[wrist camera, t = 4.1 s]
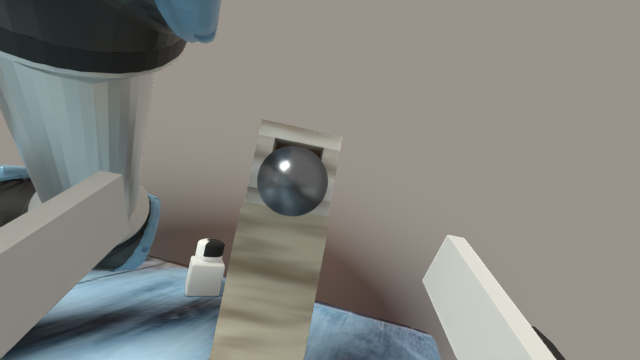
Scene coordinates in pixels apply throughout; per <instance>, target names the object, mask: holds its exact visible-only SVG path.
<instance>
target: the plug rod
mask: <svg viewBox="0 0 640 360" xmlns="http://www.w3.org/2000/svg"><path fill="white" fill-rule="evenodd" d="M257 187H258V191H259V194H260V196H261V198H262V200H263V202H264V203H265V204H266V205H267V206H268V207H269V208H270V209H271V210H273V211H274V212H276V213H278V214H281V215H284V216H301V215H304V214H307V213H309V212H311V211H312V210H314V209H315V208H316V207H317V206H318V205H319V204H320V203H321V202H322V200H323V198H324V197H325V194H326V192H327V187H328V175H327V171H326V168H325V166H324V164H323V162H322V161H321V160H320V158H319V157H318V156H317V155H316V154H314V153H313V152H312V151H310V150H308V149H306V148H303V147H299V146H286V147H282V148H279V149H277V150H275V151H273V152H272V153H271V154H269V155H268V156H267V157H266V158H265V160H264V161H263V163H262V164H261V166H260V169H259V171H258V176H257Z"/></svg>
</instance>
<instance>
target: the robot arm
mask: <svg viewBox="0 0 640 360" xmlns="http://www.w3.org/2000/svg"><path fill="white" fill-rule="evenodd" d="M220 5H221V0H0V111H1V113H2V116H3V118H4V120H5V122H6V125H7V127H8V129H9V131H10V133H11V136H12V138H13V140H14V143H15V145H16V147H17V149H18V151H19V154H20V156H21V158H22V160H23V163H24V165H25V167H24V166H13V165H0V359H1V358H2V357H3V356H4V355H5V354H6V353H7V352H8V351H9V350H10V349H11V348H12V347H13V346H14V345H15V344H16V343H17V342H18V341H19V340H20V339H21V338H22V337H23V336H24V335H25V334H26V333H27V332H28V331H29V330H30V329H31V328H33V327H34V326H35V325H36V324H37V323H38V322H39V321H40V320H41V319H42V318H43V317H44V316H45V315H46V314H47V313H48V312H49V311H50V310H51V309H52V308H53V307H54V306H55V305H56V304H57V303H58V302H59V301H60V300H61V299H62V298H63V297H64V296H65V295H66V294H67V293H68V292H69V291H70V290H71V289H72V288H73V287H74V286H75V285H76V284H77V283H78V282H79V281H80V280H81V279H83V278H84V277H85V276H86V275H87V274H88V273H89V272H90V271H91V270H99V271H111V272H117V271H121V270H133V269H136V268H138V267H139V266H140V265H141V264H142V263H143V262H144V261H145V259H146V257H147V255H148V253H149V250H150V245H151V244H152V242H153V239H154V236H155V233H156V229H157V225H158V221H159V216H160V208H161V205H160V200H159V199H158V197H156V196H153V195H150V194H149V193H147V192H146V191H145V189H144V188H143V186H142V185H141V184H140V177H141V169H142V162H143V154H144V147H145V140H146V132H147V124H148V117H149V109H150V103H151V95H152V88H153V80H154V73H155V72H157V71H160V70H162V69H164V68H166V67H168V66H170V65H172V64H173V63H174V62H175V61H177V60H178V59H179V57H180V56H181V55H182V53H183V51H184V49H185V46H186V42H191V43H193V42H197V41H198V42H201V43H210V42H212V41H213V40H214V39H215V36H216V31H217V25H218V18H219V11H220ZM423 283H424V286H425V288H426V290H427V292H428V295H429V297H430V299H431V301H432V304H433V306H434V308H435V311H436V313H437V315H438V317H439V320H440V322H441V324H442V326H443V329H444V331H445V333H446V335H447V338H448V340H449V342H450V344H451V347H452V349H453V351H454V354H455V356H456V358H457V360H565V359H564V357H563V356H562V355H561V353H560V352H559V351H558V350H557V348H556V347H555V346H554V345H553V343H552V342H551V341H549V340H548V339H547V338H546V337H545V336H544V335H543V334H542V333H541V332H540V331H538V329H536V328H535V327H533V326H530V324H529V323H528V322H527V320H526V319H525V318H524V316H523V315H522V314H521V312H520V311H519V310H518V308H517V307H516V306H515V304H514V303H513V302H512V300H511V299H510V298H509V297H508V295H507V294H506V293H505V291H504V290H503V289H502V287H501V286H500V285H499V283H498V282H497V281H496V279H495V278H494V277H493V275H492V274H491V273H490V272H489V270H488V269H487V268H486V266H485V265H484V264H483V262H482V261H481V260H480V258H479V257H478V256H477V255H476V253H475V252H474V250H473V249H472V248H471V246H470V245H469V244H468V243H467V241H466V240H465V238H462V237H456V236H451V235H447V236H446V238H445V240H444V242H443V244H442V246H441V248H440V249H439V251H438V253H437V255H436V257H435V258H434V260H433V262H432V264H431V266H430V267H429V269H428V271H427V273H426V275H425V277H424V278H423Z"/></svg>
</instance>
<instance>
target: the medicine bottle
mask: <svg viewBox="0 0 640 360" xmlns="http://www.w3.org/2000/svg"><path fill="white" fill-rule="evenodd" d="M224 246H225V244H224V243H223V242H222V241H220V240H216V239H203V240H200V241H199V242H198V246H197V250H196V255H195V256H192V257H191V261H190V265H189V270H188V274H187V279H186V283H185V289H186V296H219V293H220V288H221V284H222V279H223V274H224V269H225V265H224V263H223V261H222V255H223V251H224Z"/></svg>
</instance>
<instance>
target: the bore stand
mask: <svg viewBox="0 0 640 360" xmlns="http://www.w3.org/2000/svg"><path fill="white" fill-rule="evenodd" d="M341 142H342V136H337V135H332V134H328V133H323V132H318V131H314V130H310V129H305V128H300V127H296V126H291V125H286V124H282V123H277V122H272V121H268V120H263V119H262V121H261V126H260V131H259V136H258V141H257V145H256V150H255V155H254V160H253V165H252V169H251V174H250V179H249V184H248V188H247V194H246V198H245V200H243V201H242V205H241V210H240V215H239V219H238V224H237V229H236V234H235V239H234V244H233V248H232V253H231V258H230V263H229V268H228V272H227V277H226V282H225V287H224V292H223V296H222V301H221V306H220V311H219V316H218V320H217V325H216V330H215V335H214V340H213V344H212V349H211V354H210V359H209V360H304V356H305V351H306V345H307V340H308V334H309V329H310V323H311V318H312V312H313V307H314V302H315V296H316V290H317V285H318V280H319V274H320V269H321V263H322V258H323V252H324V247H325V241H326V236H327V231H328V225H329V220H330V216H328V213H329V207H330V202H331V196H332V191H333V185H334V180H335V175H336V169H337V164H338V158H339V153H340V147H341ZM286 146H299V147H303V148H306V149H308V150H310V151H312V152H313V153H314V154H316V155H317V156H318V157H319V158H320V160H321V161H322V162H323V164H324V166H325V168H326V171H327V175H328V187H327V192H326V194H325V197H324V198H323V200H322V202H321V203H320V204H319V205H318V206H317V207H316V208H315V209H314V210H312V211H311V212H309V213H307V214H304V215H301V216H284V215H281V214H278V213H276V212H274V211H273V210H271V209H270V208H269V207H268V206H267V205H266V204H265V203H264V202H263V200H262V198H261V196H260V194H259V191H258V187H257V176H258V171H259V169H260V166H261V164H262V163H263V161H264V160H265V158H266V157H267V156H268V155H269V154H271V153H272V152H273V151H275V150H277V149H279V148H282V147H286Z"/></svg>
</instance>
